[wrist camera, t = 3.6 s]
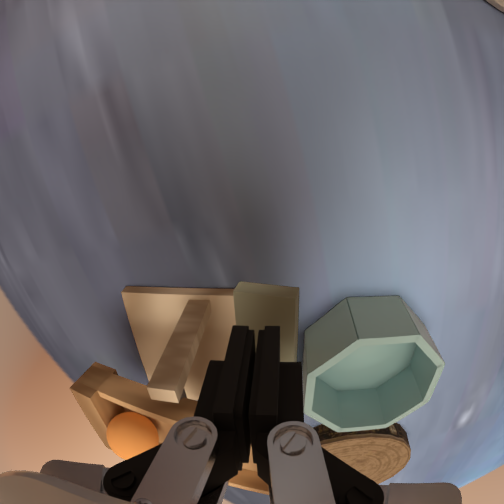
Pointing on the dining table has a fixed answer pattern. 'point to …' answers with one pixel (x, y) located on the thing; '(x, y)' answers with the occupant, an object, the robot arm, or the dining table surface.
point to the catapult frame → (179, 335)
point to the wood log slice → (369, 449)
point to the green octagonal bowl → (368, 364)
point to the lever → (168, 413)
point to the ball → (131, 434)
